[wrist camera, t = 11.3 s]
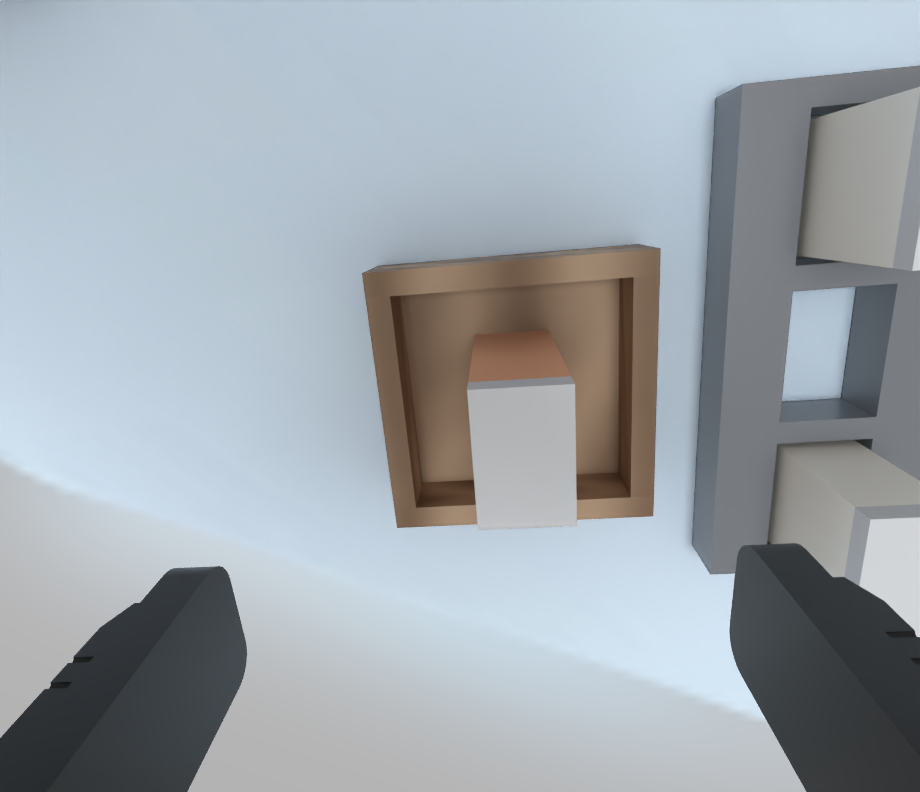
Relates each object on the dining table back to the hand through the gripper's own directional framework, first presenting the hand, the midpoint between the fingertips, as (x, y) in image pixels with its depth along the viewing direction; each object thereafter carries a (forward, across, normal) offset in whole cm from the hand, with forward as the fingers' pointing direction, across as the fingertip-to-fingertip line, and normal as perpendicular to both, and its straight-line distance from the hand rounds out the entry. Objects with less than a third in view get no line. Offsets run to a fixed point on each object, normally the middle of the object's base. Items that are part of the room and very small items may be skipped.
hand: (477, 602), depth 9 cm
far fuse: (+23, -18, +10) cm, 31 cm away
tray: (+23, -2, +4) cm, 24 cm away
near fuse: (+23, -18, -6) cm, 30 cm away
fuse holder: (+23, -18, +2) cm, 29 cm away
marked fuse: (+22, -2, +4) cm, 23 cm away
